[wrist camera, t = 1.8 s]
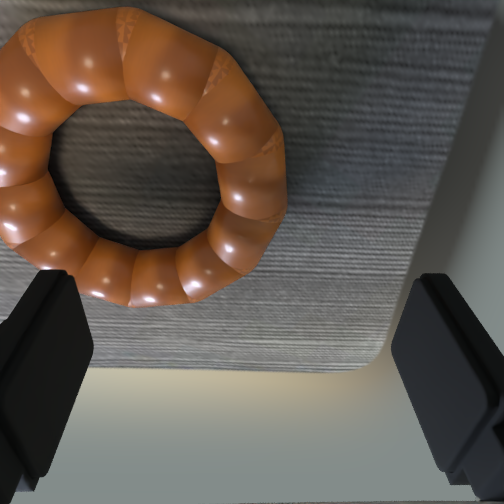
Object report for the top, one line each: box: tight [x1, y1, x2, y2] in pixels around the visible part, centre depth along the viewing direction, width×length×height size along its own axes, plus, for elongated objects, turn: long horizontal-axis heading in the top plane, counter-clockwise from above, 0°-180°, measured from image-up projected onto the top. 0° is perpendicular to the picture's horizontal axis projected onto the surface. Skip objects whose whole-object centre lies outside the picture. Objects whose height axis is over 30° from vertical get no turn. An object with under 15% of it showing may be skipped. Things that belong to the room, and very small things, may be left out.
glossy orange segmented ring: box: [0, 6, 288, 308], centre depth 16 cm, size 13×13×3 cm
